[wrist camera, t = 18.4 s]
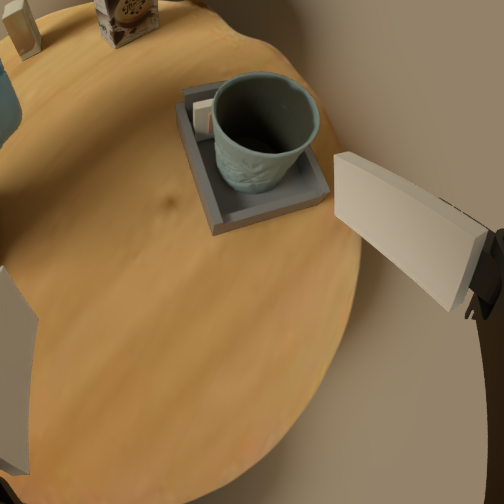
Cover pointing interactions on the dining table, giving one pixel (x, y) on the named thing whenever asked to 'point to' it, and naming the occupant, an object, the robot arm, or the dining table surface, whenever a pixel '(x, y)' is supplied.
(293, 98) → the grey-green cup
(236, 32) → the dining table surface
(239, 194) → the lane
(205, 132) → the pusher
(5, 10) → the skincare box
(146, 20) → the coffee box
